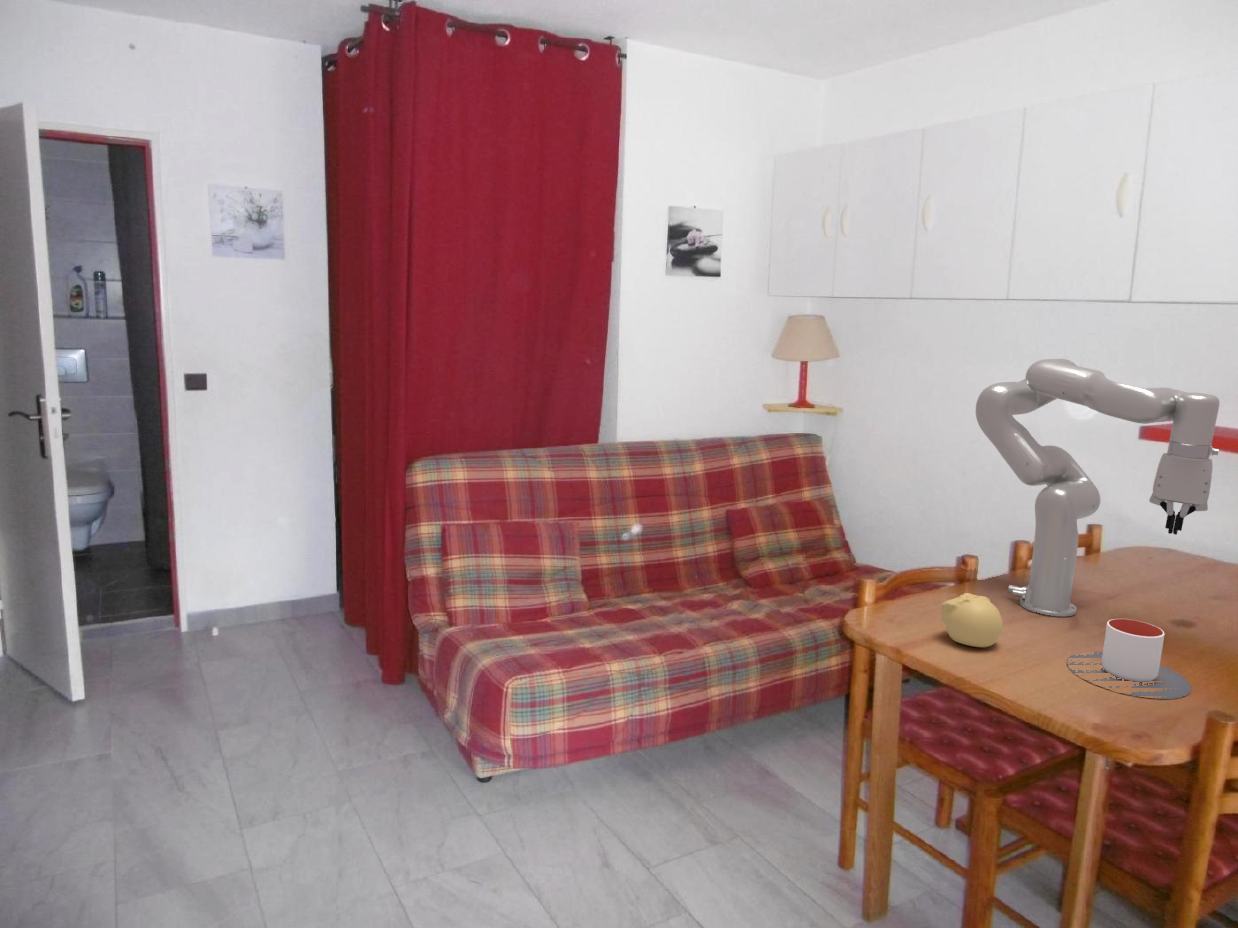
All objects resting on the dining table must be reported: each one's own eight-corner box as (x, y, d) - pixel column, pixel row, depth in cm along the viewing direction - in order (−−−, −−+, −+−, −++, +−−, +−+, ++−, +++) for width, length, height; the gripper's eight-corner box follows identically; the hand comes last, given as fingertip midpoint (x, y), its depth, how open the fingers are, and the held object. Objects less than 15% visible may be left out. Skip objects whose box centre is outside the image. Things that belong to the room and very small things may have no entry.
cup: (1107, 659, 179) (1114, 614, 177) (1162, 674, 172) (1169, 627, 170) (1094, 673, 172) (1101, 627, 170) (1150, 689, 165) (1158, 641, 163)
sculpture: (970, 628, 195) (975, 584, 193) (1011, 649, 184) (1016, 602, 182) (930, 634, 191) (935, 589, 188) (970, 655, 180) (975, 607, 178)
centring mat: (1063, 680, 168) (1063, 680, 168) (1069, 644, 187) (1069, 643, 187) (1195, 710, 157) (1195, 709, 157) (1187, 668, 176) (1188, 667, 176)
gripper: (1230, 453, 180) (1212, 535, 184) (1148, 443, 188) (1133, 522, 192) (1232, 458, 174) (1214, 543, 178) (1147, 448, 182) (1132, 529, 186)
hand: (1172, 532), depth 185 cm, fingers closed
